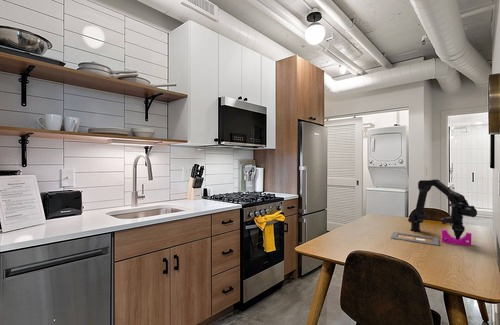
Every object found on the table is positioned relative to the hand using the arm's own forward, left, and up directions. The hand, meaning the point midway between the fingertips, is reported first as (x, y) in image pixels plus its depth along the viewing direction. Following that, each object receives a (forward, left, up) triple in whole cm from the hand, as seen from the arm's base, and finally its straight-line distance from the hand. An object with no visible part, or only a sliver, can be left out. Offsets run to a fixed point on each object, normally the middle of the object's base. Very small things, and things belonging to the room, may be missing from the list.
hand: (456, 238), depth 169 cm
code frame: (+4, -23, -4) cm, 24 cm away
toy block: (0, 0, -4) cm, 4 cm away
